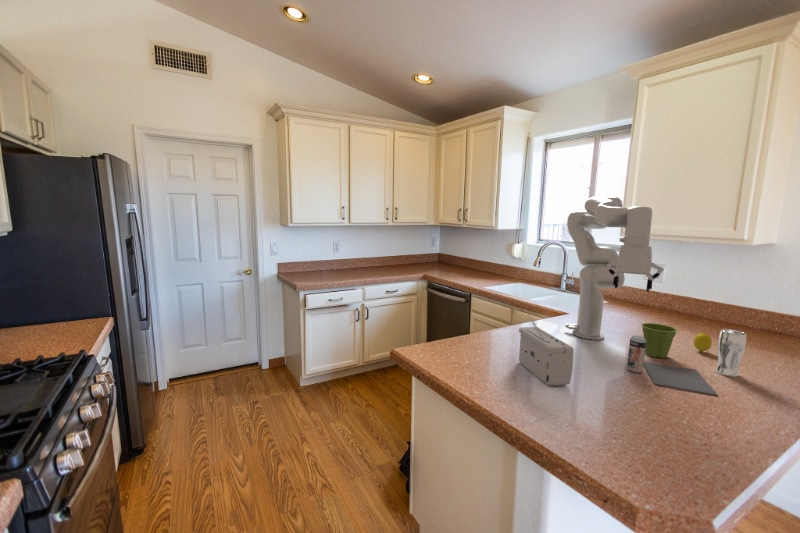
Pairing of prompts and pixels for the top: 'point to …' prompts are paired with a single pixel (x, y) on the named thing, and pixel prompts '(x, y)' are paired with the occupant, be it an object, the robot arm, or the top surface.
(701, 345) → the lemon
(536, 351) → the stereo radio cassette player
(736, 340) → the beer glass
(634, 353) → the beer can
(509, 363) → the top surface
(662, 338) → the plant pot
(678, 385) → the rubber mat
